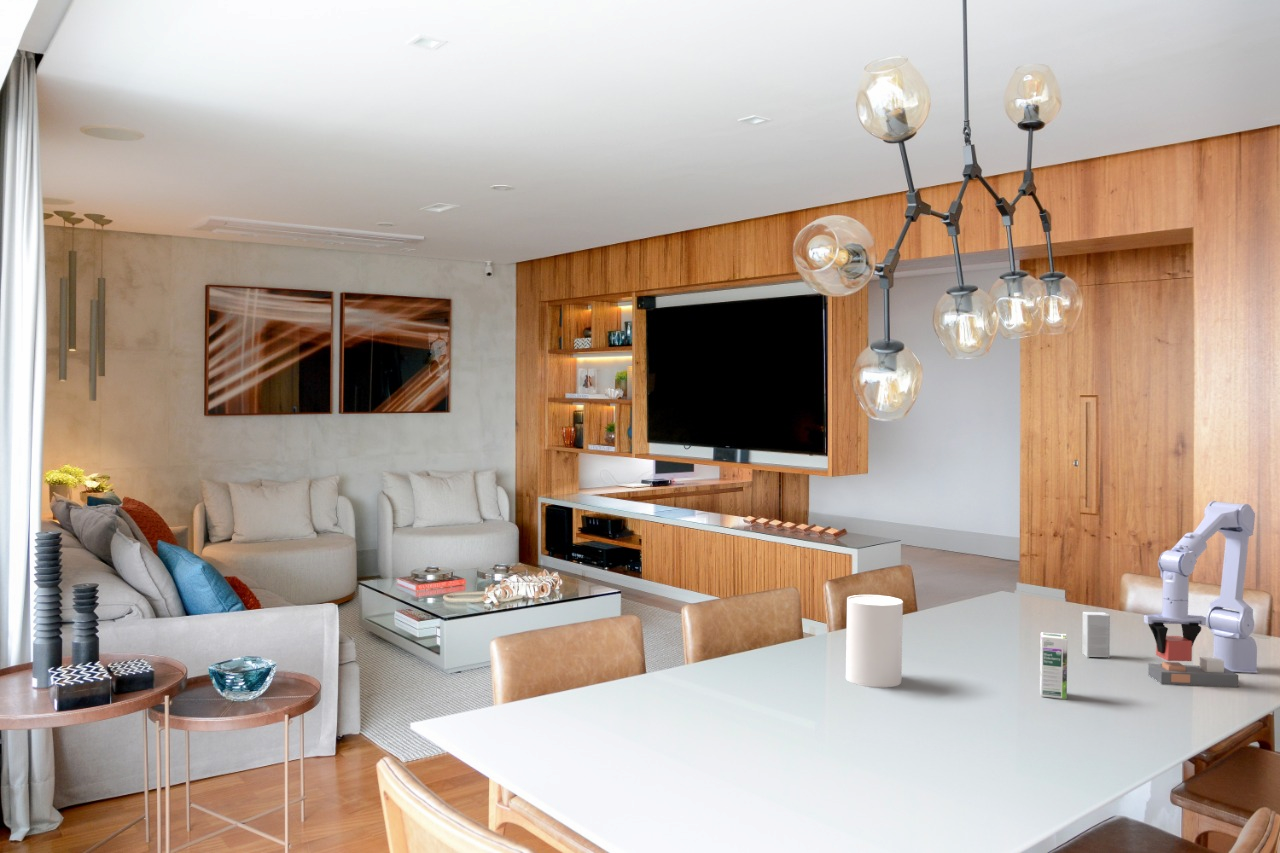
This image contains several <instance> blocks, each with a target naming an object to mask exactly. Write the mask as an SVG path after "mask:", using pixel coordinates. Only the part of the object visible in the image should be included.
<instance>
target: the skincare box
mask: <svg viewBox="0 0 1280 853" xmlns="http://www.w3.org/2000/svg"><path fill="white" fill-rule="evenodd" d="M1110 620H1111V615H1110V614H1109V613H1106V612H1105V611H1103V612H1102V611H1082V624H1081V625H1082V627H1081V628H1082V631H1081V632H1082V637H1081V638H1082V640H1081V644H1082V645H1081V647H1082V652H1081V653H1082V654H1081V655H1083V654H1084V655H1085V656H1084V655H1083V656H1084V657H1085V658H1087V657H1108V658H1107V659H1110V650H1111V649H1110V647H1111V646H1110V641H1111V639H1110V638H1111V634H1110V633H1111V631H1110V630H1111V628H1110V627H1111V626H1110V624H1111V621H1110Z"/></svg>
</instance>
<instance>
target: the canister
mask: <svg viewBox="0 0 1280 853" xmlns="http://www.w3.org/2000/svg"><path fill="white" fill-rule="evenodd" d="M903 605H904V601H903V600H902V599H901V598H897V597H893V596H889V595H883V594H881V595H880V594H857V595H856V594H855V595H850V596H847V597H846V633H845V634H846V635H845V636H846V639H845V643H846V645H845V647H846V648H845V650H846V652H845V656H846V657H845V679H846V681H848V682H850V683H851V684H854V685H857V686H858V685H859V686H863V687H869V688H892V687H897V686H899V685H901V684H902V675H903V674H902V671H903V670H902V669H903V668H902V667H903V666H902V664H903V663H902V662H903V661H902V660H903V659H902V658H903V617H904V616H903V608H904V606H903Z"/></svg>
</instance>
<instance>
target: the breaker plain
mask: <svg viewBox="0 0 1280 853" xmlns="http://www.w3.org/2000/svg"><path fill="white" fill-rule="evenodd" d="M1199 666H1200V669H1202V670H1203V671H1205V672H1216V673H1224V661H1223V660H1221V659H1219V658H1217V657H1213V656H1199Z"/></svg>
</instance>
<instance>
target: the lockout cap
mask: <svg viewBox="0 0 1280 853" xmlns="http://www.w3.org/2000/svg"><path fill="white" fill-rule="evenodd" d="M1155 644H1156V643H1155ZM1155 647H1156V648H1155V649H1156V651H1155V656H1158V657H1160V658H1161V659H1163V660H1166V662H1192V661H1193V660H1192V659H1193V646H1192V641H1190V640H1188V639H1186V638H1183V636H1182V635H1166V640H1165V653H1160V652H1158V649H1157V644H1156V646H1155Z"/></svg>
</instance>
